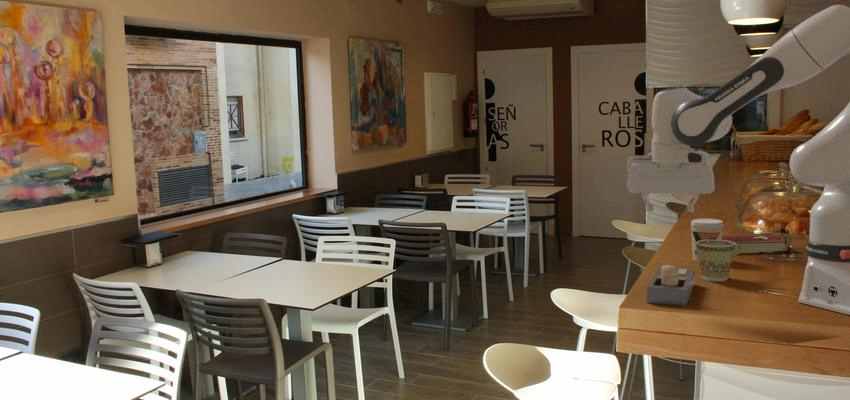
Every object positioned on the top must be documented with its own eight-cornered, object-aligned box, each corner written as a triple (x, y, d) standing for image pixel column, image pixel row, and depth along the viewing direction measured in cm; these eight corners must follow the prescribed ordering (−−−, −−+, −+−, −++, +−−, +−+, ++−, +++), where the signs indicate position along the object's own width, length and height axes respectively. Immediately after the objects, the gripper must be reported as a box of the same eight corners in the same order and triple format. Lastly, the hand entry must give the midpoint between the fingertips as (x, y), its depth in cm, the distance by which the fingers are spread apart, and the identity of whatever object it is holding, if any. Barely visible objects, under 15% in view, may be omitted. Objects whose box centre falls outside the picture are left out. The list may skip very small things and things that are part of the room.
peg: (681, 299, 189) (681, 268, 188) (667, 301, 188) (667, 269, 187) (672, 295, 193) (672, 264, 192) (658, 297, 192) (658, 266, 191)
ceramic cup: (710, 284, 203) (711, 247, 202) (687, 276, 213) (688, 241, 211) (752, 280, 207) (753, 243, 205) (728, 272, 216) (729, 237, 215)
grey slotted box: (686, 305, 184) (686, 288, 183) (646, 302, 188) (646, 285, 187) (694, 284, 204) (694, 268, 203) (658, 282, 207) (658, 266, 207)
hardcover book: (708, 248, 252) (709, 235, 252) (772, 245, 252) (772, 233, 252) (723, 255, 240) (723, 242, 240) (790, 253, 240) (790, 240, 240)
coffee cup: (687, 261, 231) (688, 222, 229) (692, 255, 239) (693, 217, 237) (720, 264, 226) (721, 224, 225) (724, 258, 235) (725, 219, 233)
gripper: (624, 156, 188) (624, 212, 189) (713, 155, 179) (712, 214, 181) (629, 154, 193) (629, 208, 195) (715, 153, 185) (714, 210, 186)
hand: (670, 211), depth 188 cm, fingers open, 8 cm apart
